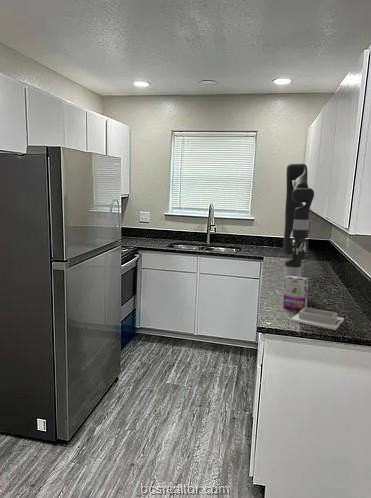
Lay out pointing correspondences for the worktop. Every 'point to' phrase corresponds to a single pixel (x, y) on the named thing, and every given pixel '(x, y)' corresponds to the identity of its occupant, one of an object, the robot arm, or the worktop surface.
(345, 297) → the worktop surface
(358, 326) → the worktop surface
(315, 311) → the socket board
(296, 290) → the candy bar box
